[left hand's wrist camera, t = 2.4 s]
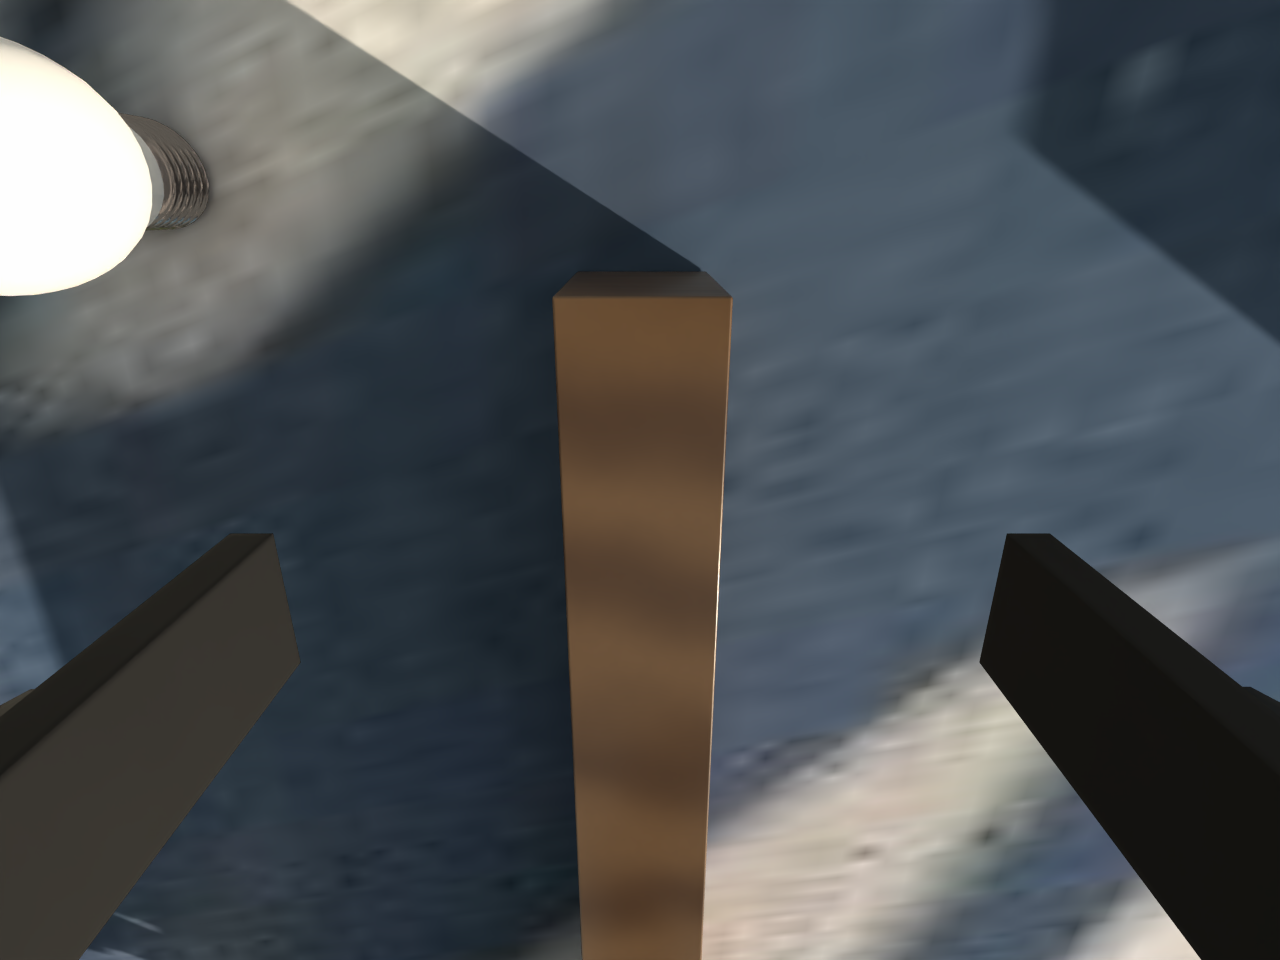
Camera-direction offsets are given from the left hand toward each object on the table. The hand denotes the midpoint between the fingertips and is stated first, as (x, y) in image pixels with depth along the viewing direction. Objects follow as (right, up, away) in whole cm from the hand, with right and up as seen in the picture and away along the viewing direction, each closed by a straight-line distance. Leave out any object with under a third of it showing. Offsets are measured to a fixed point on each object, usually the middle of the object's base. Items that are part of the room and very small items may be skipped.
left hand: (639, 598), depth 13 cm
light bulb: (-18, +13, +13) cm, 26 cm away
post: (0, -16, +24) cm, 29 cm away
